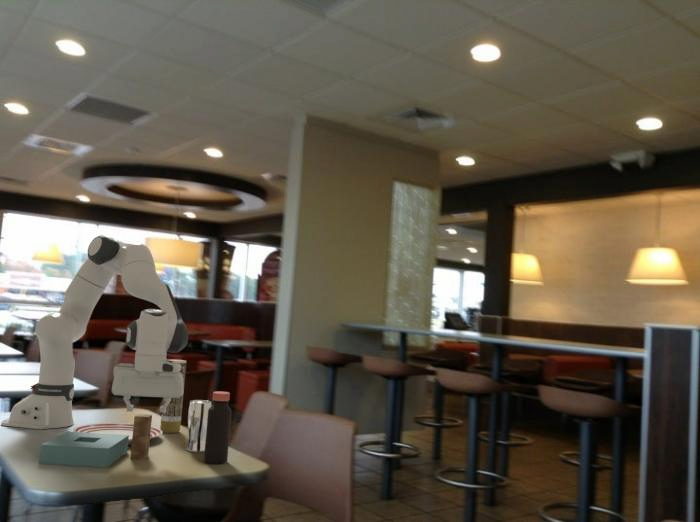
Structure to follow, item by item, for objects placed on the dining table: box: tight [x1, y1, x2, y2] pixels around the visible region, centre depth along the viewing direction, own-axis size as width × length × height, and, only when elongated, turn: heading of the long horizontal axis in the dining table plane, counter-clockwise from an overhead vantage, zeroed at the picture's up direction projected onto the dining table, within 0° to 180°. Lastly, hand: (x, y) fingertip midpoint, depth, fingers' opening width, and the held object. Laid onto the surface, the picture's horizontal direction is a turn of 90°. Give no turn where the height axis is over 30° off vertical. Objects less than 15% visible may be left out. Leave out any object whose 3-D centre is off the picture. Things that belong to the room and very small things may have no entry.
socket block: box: [38, 431, 129, 468], centre depth 174 cm, size 18×18×5 cm
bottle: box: [203, 390, 233, 465], centre depth 180 cm, size 7×7×20 cm
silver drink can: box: [186, 399, 212, 453], centre depth 193 cm, size 7×7×15 cm
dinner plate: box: [72, 422, 164, 446], centre depth 200 cm, size 28×27×3 cm
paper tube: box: [159, 359, 187, 434], centre depth 217 cm, size 7×7×25 cm
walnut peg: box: [130, 413, 153, 460], centre depth 179 cm, size 4×4×12 cm
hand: (146, 412), depth 180 cm, fingers open, 8 cm apart
